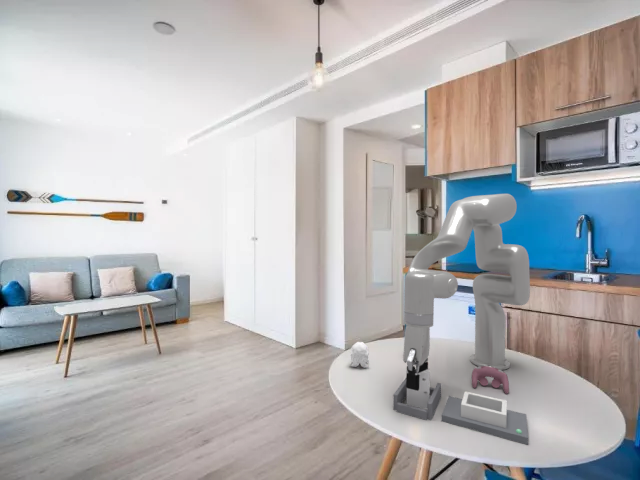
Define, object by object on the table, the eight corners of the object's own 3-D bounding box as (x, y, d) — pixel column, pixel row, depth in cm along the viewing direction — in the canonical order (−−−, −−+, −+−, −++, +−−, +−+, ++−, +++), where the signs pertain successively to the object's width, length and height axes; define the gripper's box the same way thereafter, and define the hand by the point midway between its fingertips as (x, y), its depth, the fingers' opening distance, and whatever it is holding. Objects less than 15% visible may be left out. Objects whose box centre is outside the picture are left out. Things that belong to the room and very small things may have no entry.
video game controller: (508, 395, 98) (507, 370, 100) (509, 394, 94) (509, 368, 97) (471, 388, 102) (471, 364, 104) (471, 387, 98) (471, 362, 101)
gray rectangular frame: (407, 388, 98) (407, 375, 98) (441, 396, 93) (441, 382, 93) (392, 410, 86) (392, 395, 86) (430, 421, 81) (431, 405, 81)
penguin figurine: (349, 343, 112) (353, 336, 123) (349, 369, 111) (353, 359, 123) (368, 344, 110) (370, 337, 122) (368, 371, 110) (370, 360, 121)
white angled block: (447, 402, 85) (429, 371, 87) (412, 415, 88) (395, 384, 89) (446, 395, 89) (429, 365, 90) (412, 408, 92) (397, 379, 93)
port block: (448, 401, 91) (449, 385, 91) (526, 420, 82) (526, 402, 81) (441, 420, 81) (441, 402, 81) (528, 444, 72) (528, 424, 72)
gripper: (412, 310, 98) (411, 368, 98) (395, 323, 83) (393, 391, 83) (439, 314, 94) (438, 373, 95) (425, 328, 79) (424, 399, 80)
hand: (417, 381), depth 89 cm, fingers open, 9 cm apart
